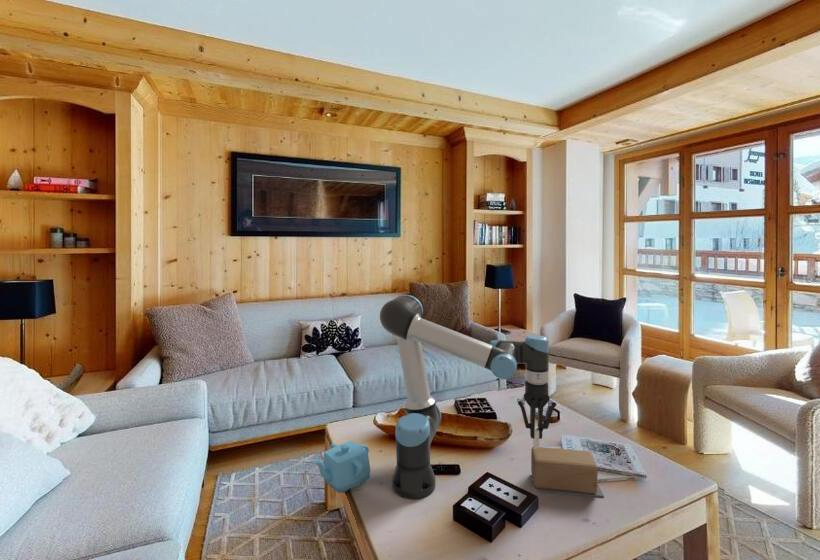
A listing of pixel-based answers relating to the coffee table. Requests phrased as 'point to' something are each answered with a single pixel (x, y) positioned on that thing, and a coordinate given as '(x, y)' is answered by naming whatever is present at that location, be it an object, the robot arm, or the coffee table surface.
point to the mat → (552, 491)
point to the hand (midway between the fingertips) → (536, 446)
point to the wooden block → (564, 470)
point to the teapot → (345, 465)
